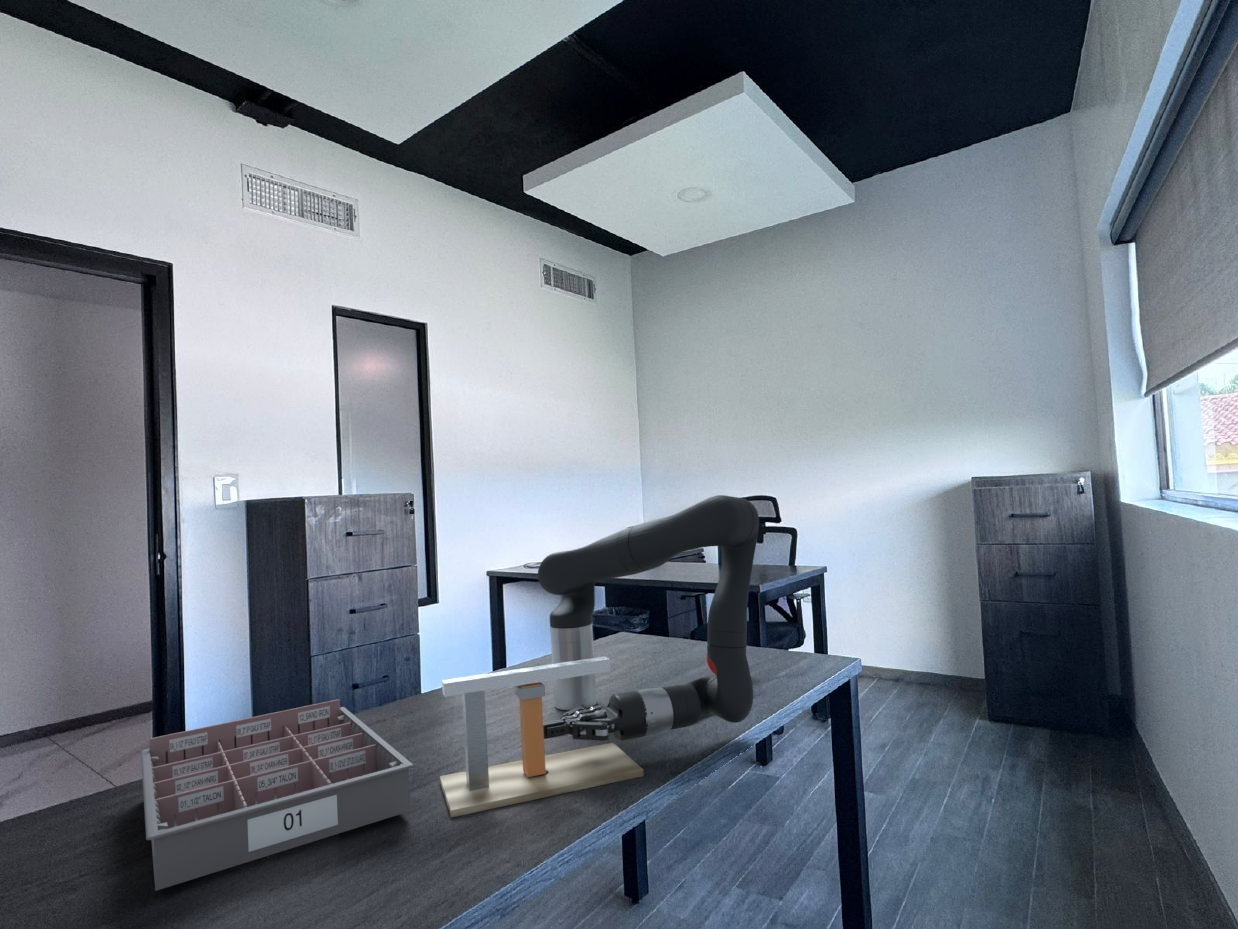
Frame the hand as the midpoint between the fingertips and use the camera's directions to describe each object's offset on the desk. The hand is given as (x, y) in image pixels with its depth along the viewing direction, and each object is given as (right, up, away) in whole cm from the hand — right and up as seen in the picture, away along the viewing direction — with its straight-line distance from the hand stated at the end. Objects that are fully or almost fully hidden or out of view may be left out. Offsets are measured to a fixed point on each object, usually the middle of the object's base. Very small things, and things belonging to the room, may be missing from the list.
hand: (541, 731), depth 113 cm
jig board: (0, -7, -1) cm, 8 cm away
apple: (+38, -8, +54) cm, 67 cm away
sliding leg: (-1, -6, -1) cm, 6 cm away
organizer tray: (-41, -10, -6) cm, 43 cm away
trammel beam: (-1, -7, -1) cm, 7 cm away
